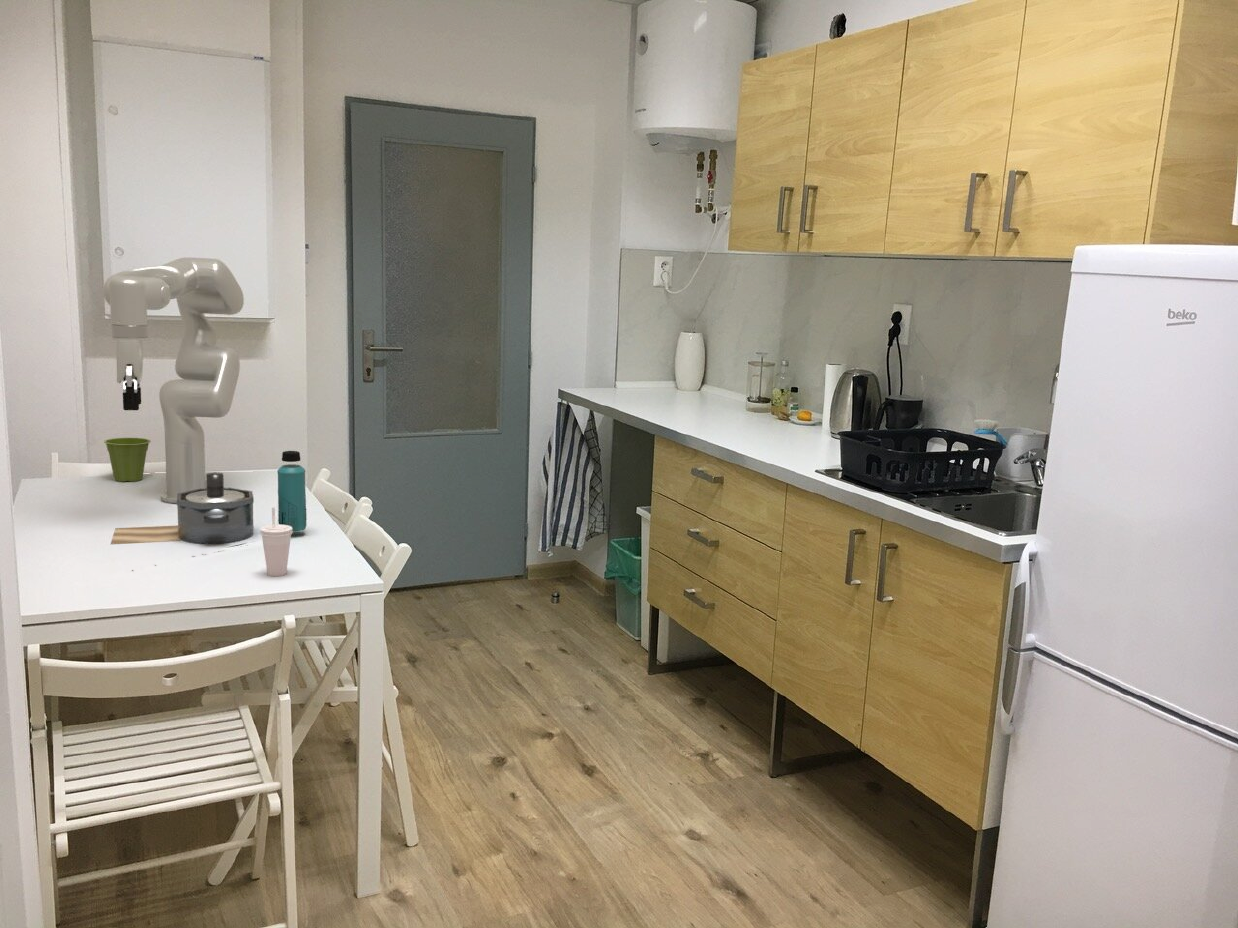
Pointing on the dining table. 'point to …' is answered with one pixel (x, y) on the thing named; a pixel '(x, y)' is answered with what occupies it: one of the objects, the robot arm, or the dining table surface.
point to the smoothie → (276, 546)
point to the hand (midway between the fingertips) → (132, 407)
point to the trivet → (145, 534)
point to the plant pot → (127, 457)
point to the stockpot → (215, 519)
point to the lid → (214, 491)
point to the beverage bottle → (292, 493)
